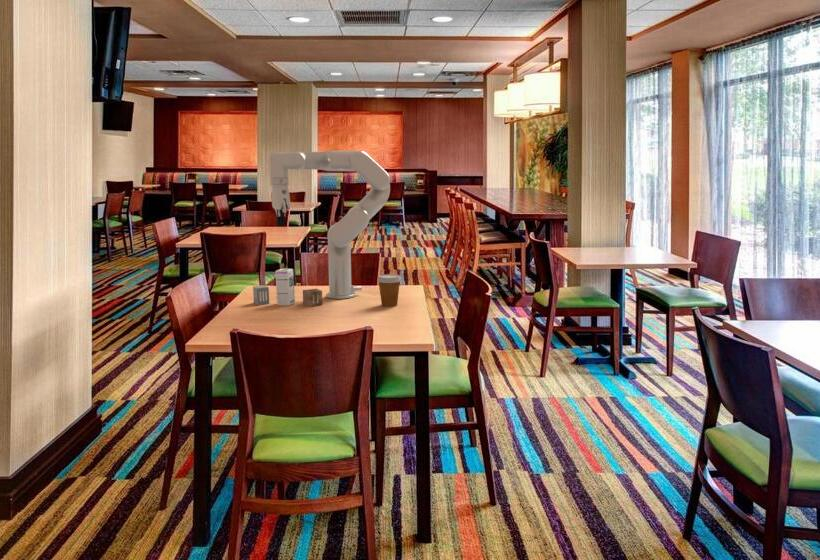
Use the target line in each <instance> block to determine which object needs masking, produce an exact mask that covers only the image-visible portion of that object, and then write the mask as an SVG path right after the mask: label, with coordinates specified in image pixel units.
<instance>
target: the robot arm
mask: <svg viewBox="0 0 820 560" xmlns="http://www.w3.org/2000/svg"><path fill="white" fill-rule="evenodd" d="M268 159H269V174H270V175H269V179H270V186H271V205H272V208H273V209H274V211H275V215H276V216H275V217H276V226H277V227H285V226H286V213H287V210H289V209H291V197H290V189H289V185H290V184H289V182H290V181H289V170H294V171H295V170H296V171H297V170H298V171H300V170H301V171H302V170H313V171H314V170H316V171H317V170H318V171H319V170H321V171H325V172H356V173H357V174H358V175H359V176H360V177H361V178H362V179H363V180H364V181H365V182H367V184H369V186H370V190H369V191H368V193H367V194H365V196H364V197H362V198H361V200H360V201H358V202H357V203H356V204H355V205H354V206H353V207H351V208H349V210H348V211H347V213H346V214H345V215H344V216H343V217H342V218H341V219H340V220H338V222H336V223H334V224H332V225H331V226H330V227H329V228H328V230H327V235H326V236H327V249H328V251H327V253H328V254H327V256H328V261H327V263H328V289H329V292H326V294H325V298H327V299H335V300H337V299H338V300H342V299H343V300H344V299H350V298H354V297H355V296H356V293H355V292H359V291H362V289H363V287H362V286H361V285H359V286H357V285H356V286H355V285H353V284H352V256H351V255H352V253H351V242H352V241H353V240H354V239H356V238H357V237H358V236H359V235H360V233H362V232H363V231H364V230H365V229H366V228H367V227H368V225H369V223H370V220H371V219H373V217H374V216H376V214H377V213H378V212H379V211H380V210H381V209H382V208H383V207H384V205H386V203H387V202H388V199H389V197H390V193H391V184H390V183H391V178H390V174H389V173H388V172H387V171H386V170H385V169H384V168H382V166H380V164H378V163H377V162H376V161H375V160H374V159H373V158H372V157H371V156H370V155H369V154H368V153H367V152H366V151H363V150H325V151H291V152H283V151H280V152H279V151H277V152H276V151H275V152H274V151H273V152H270V153H269V158H268Z"/></svg>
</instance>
